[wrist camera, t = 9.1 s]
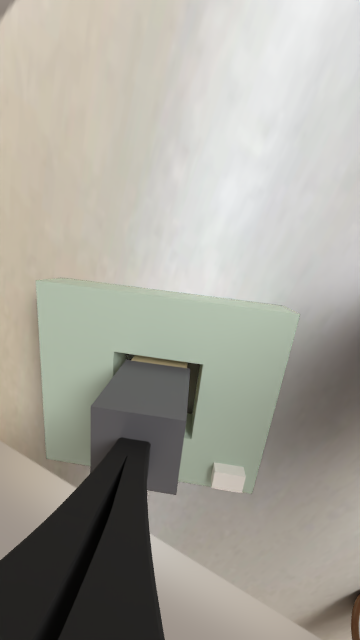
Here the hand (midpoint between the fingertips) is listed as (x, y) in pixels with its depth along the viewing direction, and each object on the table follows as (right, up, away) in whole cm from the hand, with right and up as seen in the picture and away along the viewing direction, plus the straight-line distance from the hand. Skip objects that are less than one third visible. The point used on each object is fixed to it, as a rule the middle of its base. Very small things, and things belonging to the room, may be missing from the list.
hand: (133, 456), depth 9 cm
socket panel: (+1, +2, +7) cm, 7 cm away
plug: (+1, +2, +7) cm, 7 cm away
